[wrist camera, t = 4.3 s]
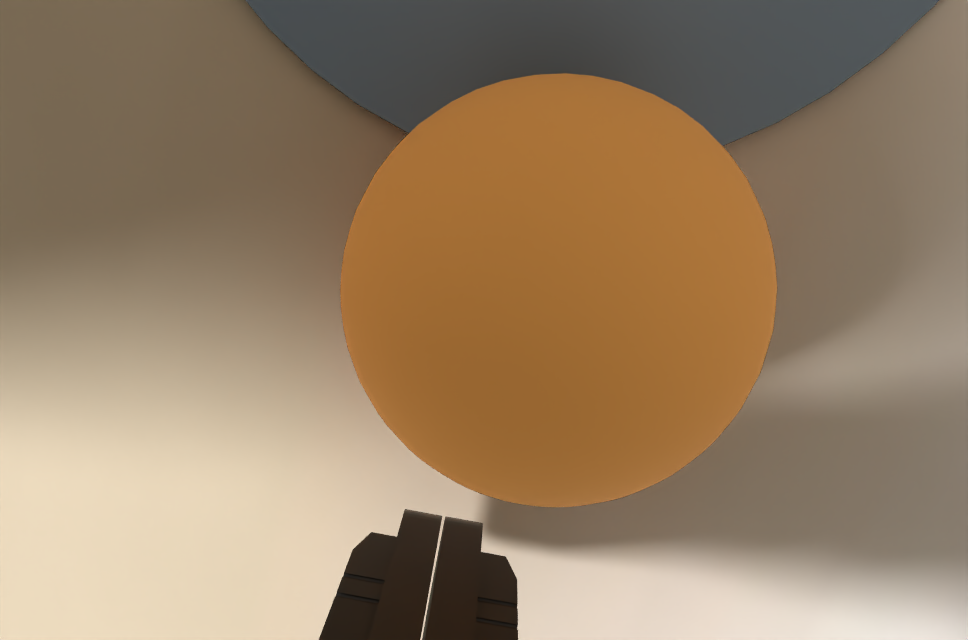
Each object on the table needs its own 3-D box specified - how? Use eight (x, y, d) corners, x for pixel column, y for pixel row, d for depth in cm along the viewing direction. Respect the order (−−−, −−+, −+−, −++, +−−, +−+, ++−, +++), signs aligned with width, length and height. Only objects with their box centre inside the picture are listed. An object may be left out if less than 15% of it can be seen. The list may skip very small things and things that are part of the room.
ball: (282, 115, 4) (467, -59, 8) (245, 492, 8) (381, 246, 12) (1005, 422, 4) (828, 111, 8) (626, 627, 8) (630, 348, 12)
